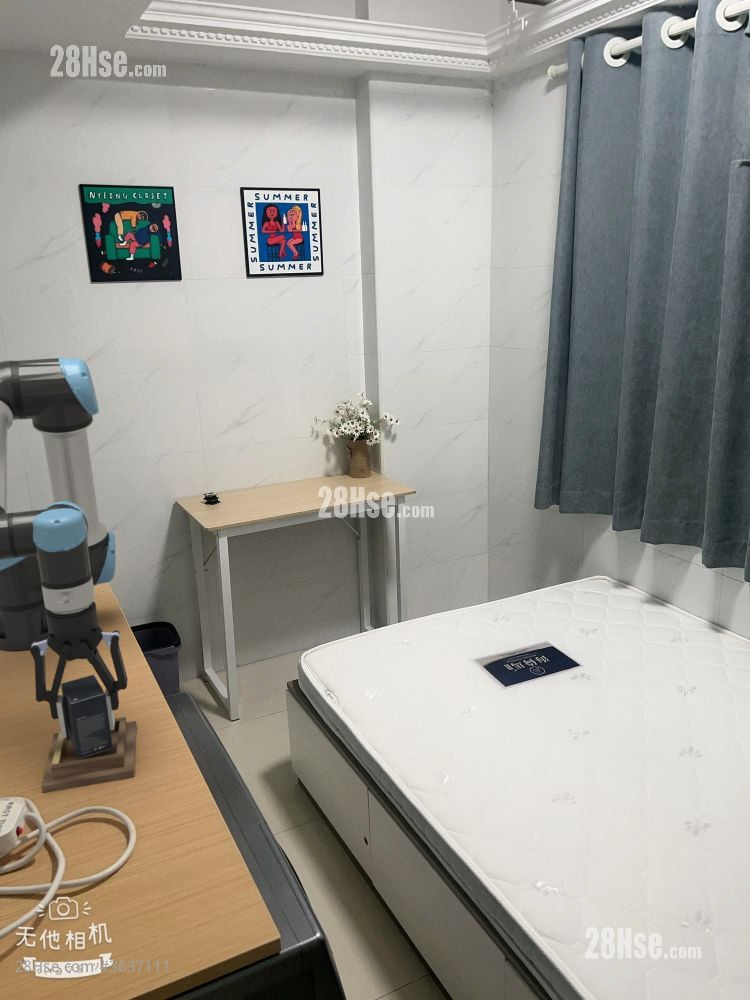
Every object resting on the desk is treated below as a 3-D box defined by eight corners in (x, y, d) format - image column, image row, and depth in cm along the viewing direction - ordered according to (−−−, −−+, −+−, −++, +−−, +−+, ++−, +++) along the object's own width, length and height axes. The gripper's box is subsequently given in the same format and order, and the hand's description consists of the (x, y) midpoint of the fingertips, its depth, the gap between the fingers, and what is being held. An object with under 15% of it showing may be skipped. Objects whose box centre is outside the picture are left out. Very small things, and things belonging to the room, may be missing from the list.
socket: (54, 739, 134) (52, 723, 133) (136, 726, 137) (134, 711, 136) (42, 792, 120) (39, 775, 119) (133, 776, 123) (131, 760, 122)
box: (113, 748, 126) (105, 693, 123) (78, 760, 123) (69, 704, 120) (102, 726, 132) (94, 672, 129) (68, 737, 129) (59, 682, 126)
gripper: (-1, 623, 114) (22, 752, 121) (134, 606, 119) (148, 732, 126) (8, 603, 121) (29, 727, 128) (135, 588, 126) (149, 708, 133)
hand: (88, 729), depth 127 cm, fingers closed on box, 7 cm apart
